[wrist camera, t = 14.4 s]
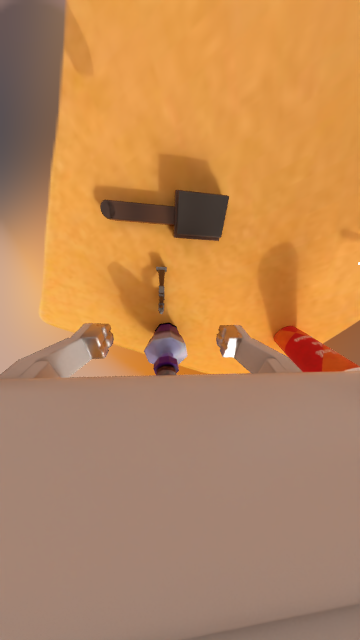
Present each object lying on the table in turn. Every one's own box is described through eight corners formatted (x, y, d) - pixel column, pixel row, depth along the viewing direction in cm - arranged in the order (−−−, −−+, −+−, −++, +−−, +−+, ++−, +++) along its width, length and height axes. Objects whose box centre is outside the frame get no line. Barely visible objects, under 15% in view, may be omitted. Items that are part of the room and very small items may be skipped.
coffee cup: (307, 328, 34) (387, 381, 22) (281, 349, 38) (338, 404, 25) (288, 317, 32) (367, 369, 19) (262, 340, 35) (315, 397, 23)
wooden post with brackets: (157, 312, 27) (155, 314, 22) (157, 272, 26) (155, 266, 21) (166, 312, 27) (166, 314, 23) (166, 272, 26) (166, 266, 21)
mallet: (222, 198, 19) (232, 191, 16) (215, 240, 22) (222, 240, 19) (99, 185, 17) (86, 174, 14) (109, 232, 20) (99, 231, 17)
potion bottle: (146, 342, 32) (137, 390, 22) (151, 313, 28) (141, 356, 18) (179, 346, 34) (184, 392, 24) (188, 320, 30) (199, 362, 20)
